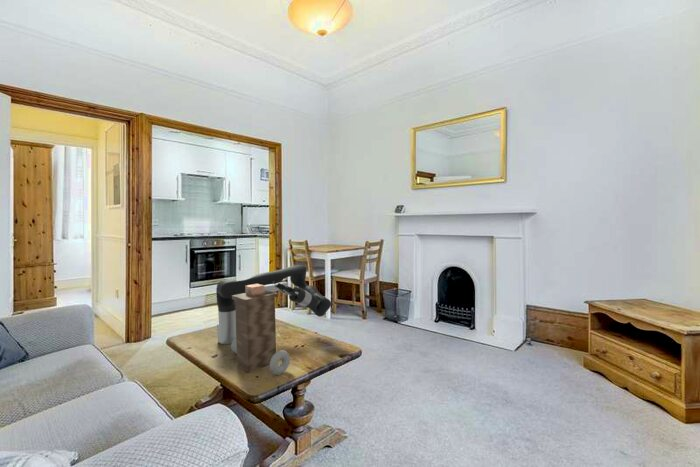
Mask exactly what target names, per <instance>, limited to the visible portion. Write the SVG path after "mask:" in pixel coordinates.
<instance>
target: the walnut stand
mask: <svg viewBox="0 0 700 467" xmlns="http://www.w3.org/2000/svg"><path fill="white" fill-rule="evenodd" d="M276 298H279V294H278V292H276V291H274V292H269V293H265V294H263V295H258V296H253V297H252V296H249V295H246V293H242V294H237V295H232V299H233V300H235V309H236V344H237V354H236V367H238V368H240V369H241V370H243V371H244V372H246V373H247V374H248V373H253V372H255V371H258V370H260V369H262V368H265V367H268V366H270V361H271V358H272V356H273V355H274V354H275V353H276V352H277V336H276V334H277V330H276V327H277V326H276Z"/></svg>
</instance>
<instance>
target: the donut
mask: <svg viewBox="0 0 700 467" xmlns="http://www.w3.org/2000/svg"><path fill="white" fill-rule="evenodd" d="M290 359H291V358H290V354H289V352H287V351H286V350H283V349H282V350H281V349H280V350H276V353H275V354H274V355H273V356H272V358H271V361H270V365H269V369H270V372H271V373H272V374H273V375H275V376H276V375H282V374H283V373H285V372H286V371H287V369H288V367H289V366H290ZM280 360H281V362H280V364H279V361H280Z"/></svg>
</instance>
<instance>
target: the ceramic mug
mask: <svg viewBox="0 0 700 467" xmlns="http://www.w3.org/2000/svg"><path fill="white" fill-rule="evenodd" d="M230 348H231V351H232V352H234V353H235V354H236V355H237V344H236V338H235V339H234V340H233V341H232V343H231V344H230Z"/></svg>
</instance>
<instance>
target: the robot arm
mask: <svg viewBox="0 0 700 467" xmlns="http://www.w3.org/2000/svg"><path fill="white" fill-rule="evenodd" d="M289 277H290V278H289ZM306 277H307V267H306V265H303V264H296V265H292V266H291V265H290V266H288V267H284V268H281V269H277V270H272V271H267V272H262V273H258V274H255V275H252V276H251V277H249V278H246V279H242V280H234V281H233V280H231V279H222V280H220V281H219V282H218V283H217V285H216V289H215V290H216V294H215V295H216V303H217V309H218V311H217V312H218V313H217V314H218V324H217V327H216V328H217V330H216V331H217V343H219V344H221V345H231V343H232V341H233V340H234V339H235V338H236V309H235V300H233V299H232V295H237V294H242V293H246V289H245V286H247V285H253V284H261V285H269V284H275V283H278V284H277V288H279V289H282V290H279V292H280V293H283V294H284V295H286V296H288V299H289V300H290V301H291V302H293V303H295V304H298V305H299V306H303V307H306V308H308V309H309V310H310V311H311V312H313V314H314V315H316V316H317V317H321V318H322V317H324V315H325V314H327V312H328V311H329V309H331V306H332V302H331V300H330V298H327V297H325V296H323V295H322V294H321V293H320V292H319V291H318V289H316V287H315V286H313V285H311V284H310V285H308V284H307V282H306ZM286 278H289V281H290V282H291V283H292V285H294V287H291V286H290V285H288V287H287V286H285V285H283V284H280V282H283V281H284V280H285V279H286Z"/></svg>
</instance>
